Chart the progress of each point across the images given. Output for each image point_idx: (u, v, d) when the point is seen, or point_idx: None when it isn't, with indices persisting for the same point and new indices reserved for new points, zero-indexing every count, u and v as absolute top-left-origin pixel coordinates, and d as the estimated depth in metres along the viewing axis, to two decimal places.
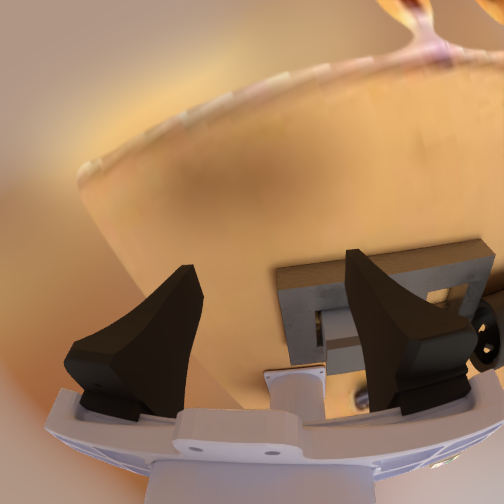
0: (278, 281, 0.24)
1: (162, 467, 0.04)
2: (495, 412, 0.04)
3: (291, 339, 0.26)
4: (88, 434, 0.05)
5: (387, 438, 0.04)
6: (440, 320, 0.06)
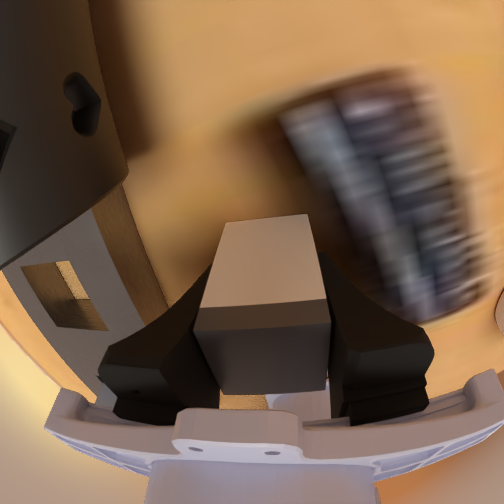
0: None
1: (162, 467, 0.04)
2: (495, 412, 0.04)
3: None
4: (88, 434, 0.05)
5: (387, 438, 0.04)
6: (390, 330, 0.06)
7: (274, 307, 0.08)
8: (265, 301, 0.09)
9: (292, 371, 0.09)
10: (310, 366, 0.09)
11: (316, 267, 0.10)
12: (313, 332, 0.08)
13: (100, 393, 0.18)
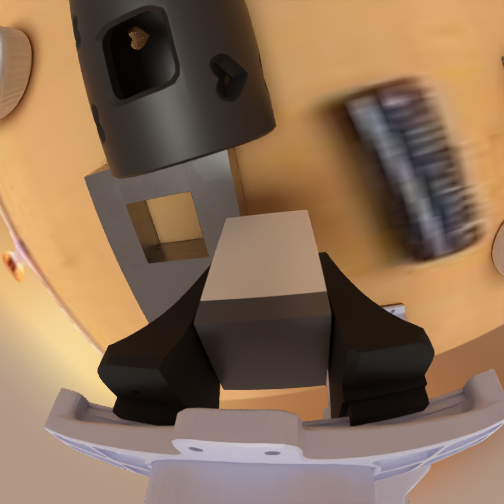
0: None
1: (162, 467, 0.04)
2: (495, 412, 0.04)
3: None
4: (88, 434, 0.05)
5: (387, 438, 0.04)
6: (390, 330, 0.06)
7: (275, 300, 0.08)
8: (266, 294, 0.09)
9: (293, 365, 0.09)
10: (311, 360, 0.09)
11: (316, 261, 0.10)
12: (314, 324, 0.08)
13: None
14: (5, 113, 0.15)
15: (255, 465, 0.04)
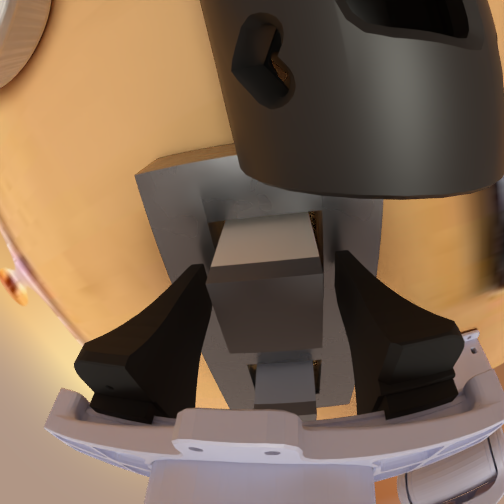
0: None
1: (162, 467, 0.04)
2: (495, 412, 0.04)
3: None
4: (88, 434, 0.05)
5: (387, 438, 0.04)
6: (424, 323, 0.06)
7: (275, 263, 0.10)
8: (267, 260, 0.10)
9: (291, 325, 0.10)
10: (307, 319, 0.10)
11: (310, 234, 0.11)
12: (308, 283, 0.09)
13: (258, 384, 0.18)
14: (4, 79, 0.09)
15: (255, 465, 0.04)
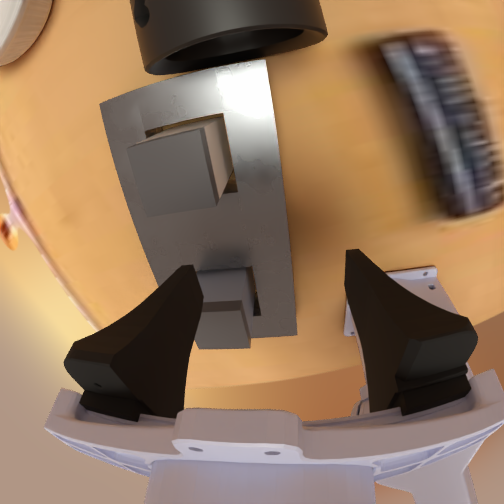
0: None
1: (162, 467, 0.04)
2: (495, 412, 0.04)
3: None
4: (88, 434, 0.05)
5: (387, 438, 0.04)
6: (440, 320, 0.06)
7: (173, 134, 0.13)
8: (170, 134, 0.13)
9: (186, 180, 0.13)
10: (196, 174, 0.13)
11: (208, 123, 0.14)
12: (190, 139, 0.12)
13: None
14: (17, 53, 0.12)
15: (255, 465, 0.04)
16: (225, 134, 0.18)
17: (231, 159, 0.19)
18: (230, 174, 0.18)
